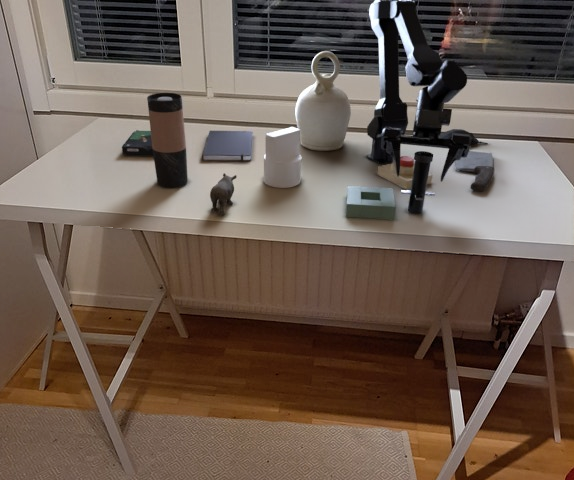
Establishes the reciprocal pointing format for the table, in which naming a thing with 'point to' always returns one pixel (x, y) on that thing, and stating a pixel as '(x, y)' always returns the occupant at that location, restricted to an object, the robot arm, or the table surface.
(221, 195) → the rhino figurine
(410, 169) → the panel
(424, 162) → the black flanged tube
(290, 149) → the cylinder with rectangular tab
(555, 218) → the table surface
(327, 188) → the table surface
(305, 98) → the white bell
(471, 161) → the cleaver
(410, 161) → the button
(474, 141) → the gaming mouse
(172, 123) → the travel mug
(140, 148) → the disk drive
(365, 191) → the green square frame
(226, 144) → the notebook
